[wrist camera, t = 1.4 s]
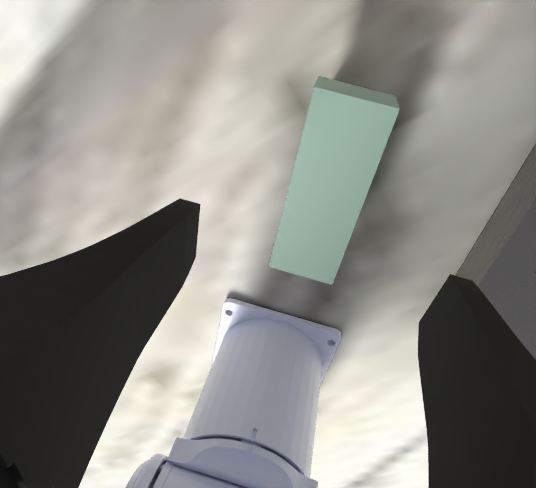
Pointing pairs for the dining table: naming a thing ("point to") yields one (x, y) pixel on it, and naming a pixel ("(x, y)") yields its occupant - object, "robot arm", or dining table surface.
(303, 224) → the pale green rectangular post
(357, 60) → the dining table surface
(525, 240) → the rail
